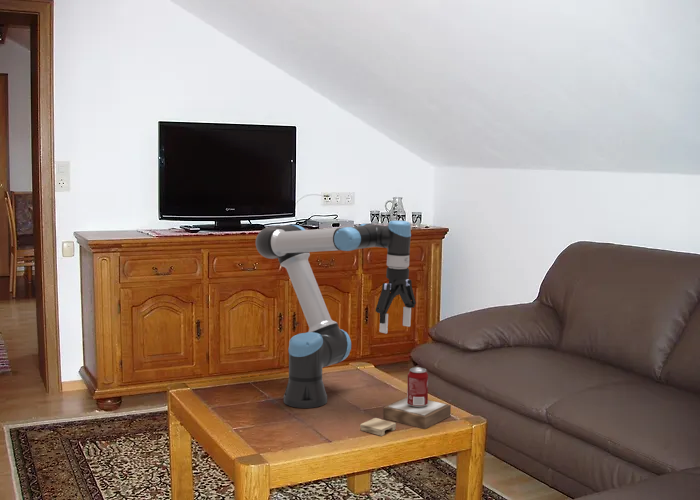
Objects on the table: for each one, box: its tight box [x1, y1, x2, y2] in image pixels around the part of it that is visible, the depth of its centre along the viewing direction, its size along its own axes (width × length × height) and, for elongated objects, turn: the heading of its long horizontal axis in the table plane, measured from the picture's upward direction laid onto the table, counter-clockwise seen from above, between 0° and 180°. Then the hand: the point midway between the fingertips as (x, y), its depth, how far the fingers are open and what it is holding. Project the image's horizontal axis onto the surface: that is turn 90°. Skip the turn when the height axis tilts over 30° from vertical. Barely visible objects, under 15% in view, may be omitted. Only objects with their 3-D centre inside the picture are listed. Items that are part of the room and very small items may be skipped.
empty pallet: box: [359, 417, 397, 437], centre depth 241 cm, size 8×8×2 cm
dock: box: [382, 397, 452, 430], centre depth 253 cm, size 16×16×4 cm
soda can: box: [406, 367, 429, 408], centre depth 252 cm, size 7×7×12 cm
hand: (395, 329), depth 259 cm, fingers open, 13 cm apart
